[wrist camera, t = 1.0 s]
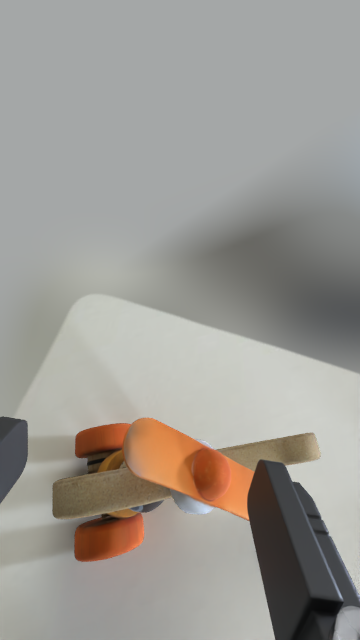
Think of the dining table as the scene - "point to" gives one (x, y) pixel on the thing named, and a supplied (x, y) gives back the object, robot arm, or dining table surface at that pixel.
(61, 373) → the dining table surface
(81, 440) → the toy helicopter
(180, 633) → the dining table surface
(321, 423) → the dining table surface
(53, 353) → the dining table surface
